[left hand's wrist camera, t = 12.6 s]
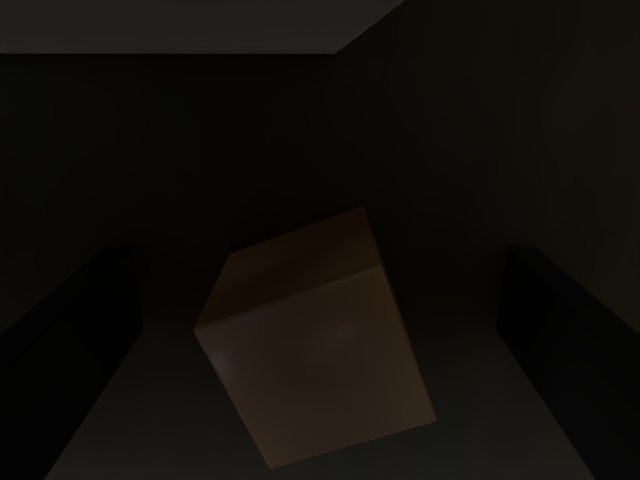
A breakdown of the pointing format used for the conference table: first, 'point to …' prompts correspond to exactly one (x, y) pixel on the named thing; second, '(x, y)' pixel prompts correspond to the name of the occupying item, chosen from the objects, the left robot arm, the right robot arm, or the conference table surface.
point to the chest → (185, 26)
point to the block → (314, 342)
